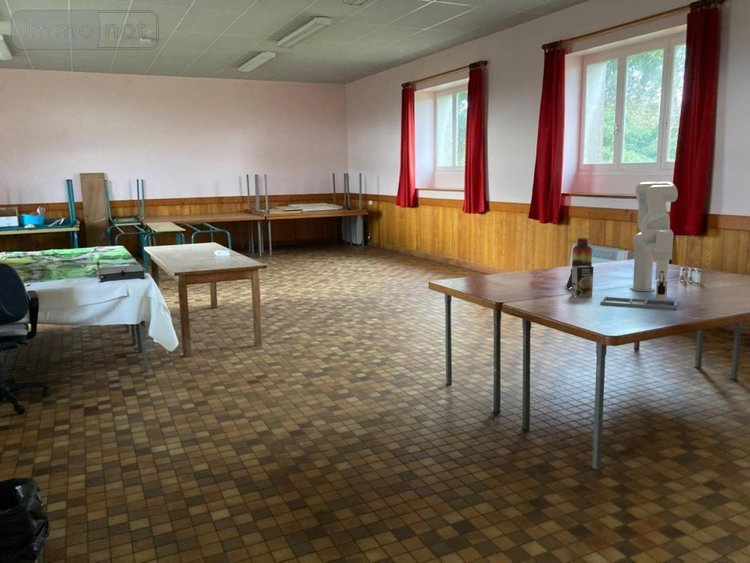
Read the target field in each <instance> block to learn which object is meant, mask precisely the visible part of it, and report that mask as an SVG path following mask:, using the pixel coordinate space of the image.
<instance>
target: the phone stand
mask: <svg viewBox="0 0 750 563" xmlns="http://www.w3.org/2000/svg"><path fill="white" fill-rule="evenodd" d="M566 287H567V288H570V287H572V268H571V269H570V275H569V277H568V281H567V282H566V285H565V288H566Z"/></svg>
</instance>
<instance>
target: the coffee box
mask: <svg viewBox="0 0 750 563" xmlns="http://www.w3.org/2000/svg"><path fill="white" fill-rule="evenodd" d="M571 269H572V288H571V289H570V290H571V294H570V296H572V295H573V296H572V297H574V296H576V297H575V298H588V297H587V296H592V297H593V289H594V288H593V282H594V266H572V265H571Z"/></svg>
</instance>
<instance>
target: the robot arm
mask: <svg viewBox="0 0 750 563" xmlns="http://www.w3.org/2000/svg"><path fill="white" fill-rule="evenodd" d="M678 194H679V193H678V189H677V187H676V185H675V184H674V183H672V182H670V181H647V182H646V181H645V182H641V183H638V184H637V185H636V186H635V196H636V198H637V203H638V209H637V210H638V211H637V227H638V229H639V230H640V232H639V233H636V234H635V235H634V236H633V239H632V240H633V250H634V260H633V277H632V278H633V279H632V280H633V283H632V285H631V286H629V290H632V291H637V292H652V291H653V292H654V291H656V287H654V286H653V271H654V270H653V268H654V260H656V265H655V266H656V267H655V279H654V280H656V281H659V282H658V292H657V294H660V295H664V294H665V281H667V279H668V276H669V275H668V274H669V269H670V268H669V267H670V261H671V260H673V249H674V248H673V246H674V236H675V235H674V232H673V231H672V229H671V227H670V225H671V220H670V219H671V218H670V215H669V214H668V213H667V212H668V209H667V203H669V202H670V203H673V202H676V201H677V199H678ZM650 251H654V257H653V255H652V254H651V253H650ZM663 281H664V282H663Z"/></svg>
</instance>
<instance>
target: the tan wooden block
mask: <svg viewBox="0 0 750 563" xmlns="http://www.w3.org/2000/svg"><path fill="white" fill-rule="evenodd" d="M658 282H659V280H656V285H655V286H656V287H655V300H658V299H659V300H666V299H667V296H668V295H667V294H668V281H667V280H666V281H665V294H664V295H660V294H657V292H658ZM663 282H664V281H663Z"/></svg>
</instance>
